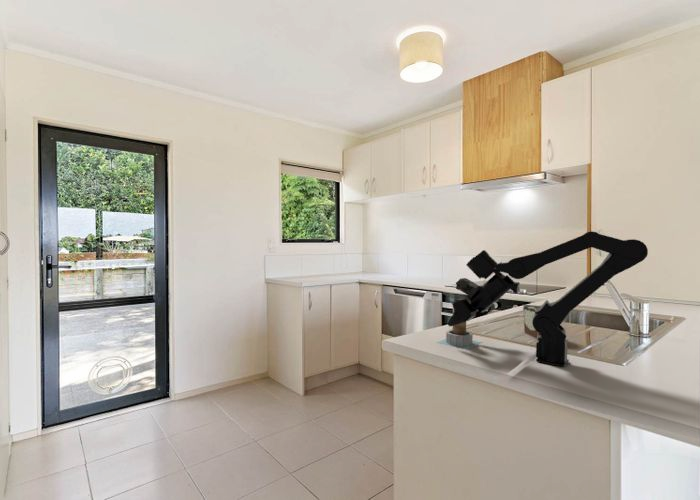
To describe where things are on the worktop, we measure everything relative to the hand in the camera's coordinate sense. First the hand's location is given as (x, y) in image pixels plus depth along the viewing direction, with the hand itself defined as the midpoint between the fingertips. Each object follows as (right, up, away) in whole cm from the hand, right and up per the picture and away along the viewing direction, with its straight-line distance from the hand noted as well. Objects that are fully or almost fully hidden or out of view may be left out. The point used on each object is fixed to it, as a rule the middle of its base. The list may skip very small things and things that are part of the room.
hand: (455, 322), depth 111 cm
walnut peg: (+1, -6, -1) cm, 6 cm away
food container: (+32, -7, +11) cm, 35 cm away
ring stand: (+1, -7, -1) cm, 7 cm away
